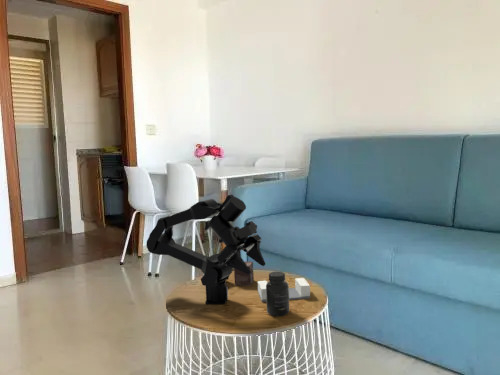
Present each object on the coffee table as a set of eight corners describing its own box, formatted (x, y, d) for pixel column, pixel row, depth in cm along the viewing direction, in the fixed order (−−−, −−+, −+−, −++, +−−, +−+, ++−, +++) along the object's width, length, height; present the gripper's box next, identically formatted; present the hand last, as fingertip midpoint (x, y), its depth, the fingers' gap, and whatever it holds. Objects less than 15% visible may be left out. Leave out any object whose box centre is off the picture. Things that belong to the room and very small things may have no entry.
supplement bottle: (263, 309, 129) (262, 271, 127) (284, 306, 131) (283, 269, 129) (271, 318, 122) (270, 278, 121) (293, 314, 124) (292, 275, 123)
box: (250, 286, 150) (250, 266, 150) (234, 285, 152) (233, 265, 151) (254, 280, 156) (253, 261, 155) (238, 280, 157) (237, 261, 157)
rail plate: (261, 302, 135) (261, 289, 134) (257, 292, 144) (257, 280, 143) (310, 298, 137) (310, 286, 136) (303, 288, 146) (303, 277, 145)
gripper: (223, 219, 121) (258, 261, 117) (255, 209, 137) (286, 245, 133) (202, 244, 126) (235, 284, 122) (235, 231, 142) (265, 267, 138)
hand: (257, 269), depth 128 cm, fingers open, 9 cm apart
